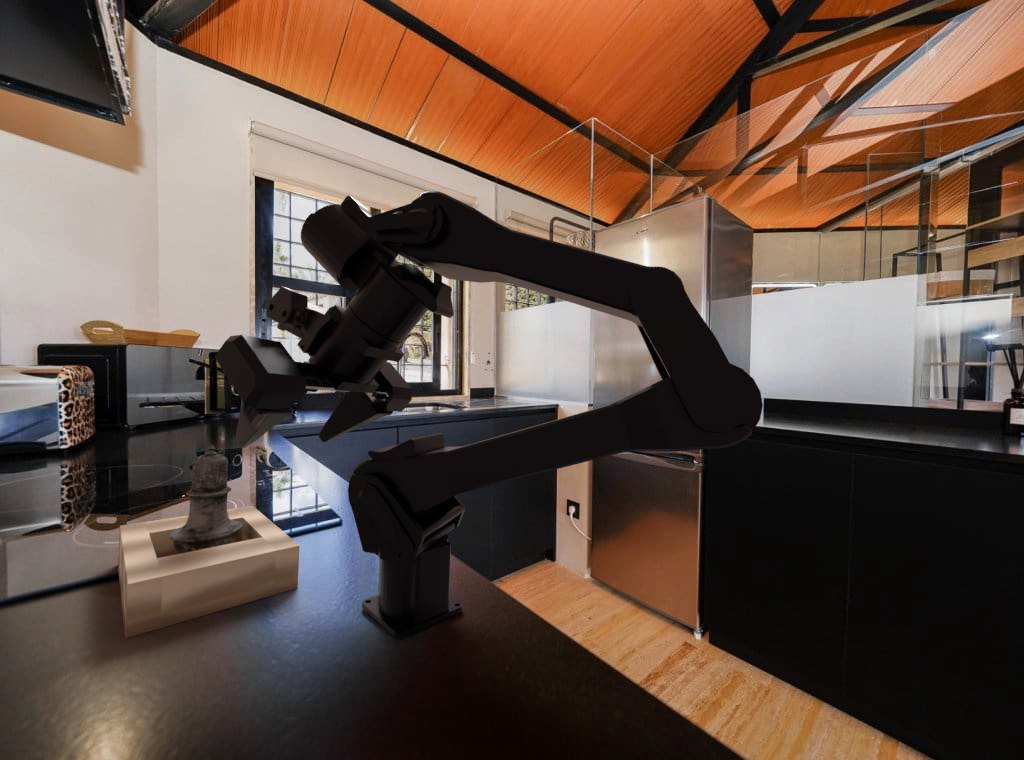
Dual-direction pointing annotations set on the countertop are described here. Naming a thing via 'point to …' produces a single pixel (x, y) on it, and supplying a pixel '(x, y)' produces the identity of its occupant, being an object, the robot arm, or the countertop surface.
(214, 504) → the salt shaker
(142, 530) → the socket board
